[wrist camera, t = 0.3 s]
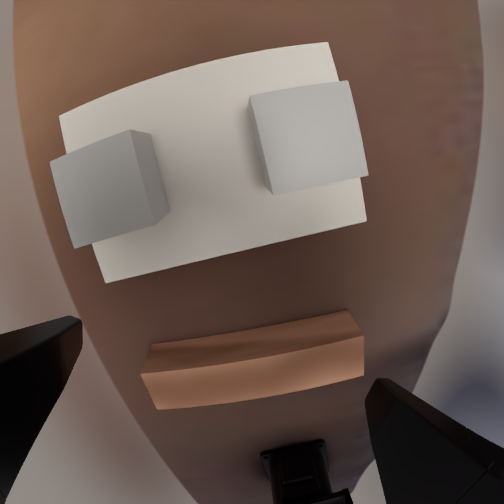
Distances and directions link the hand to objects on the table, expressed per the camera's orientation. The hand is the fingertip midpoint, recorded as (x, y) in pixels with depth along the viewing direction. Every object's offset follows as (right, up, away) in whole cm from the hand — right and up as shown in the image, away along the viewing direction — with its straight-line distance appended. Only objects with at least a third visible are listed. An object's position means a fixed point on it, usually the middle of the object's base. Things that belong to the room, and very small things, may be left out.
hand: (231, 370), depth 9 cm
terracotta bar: (+1, -4, +15) cm, 16 cm away
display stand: (-2, +9, +11) cm, 14 cm away
